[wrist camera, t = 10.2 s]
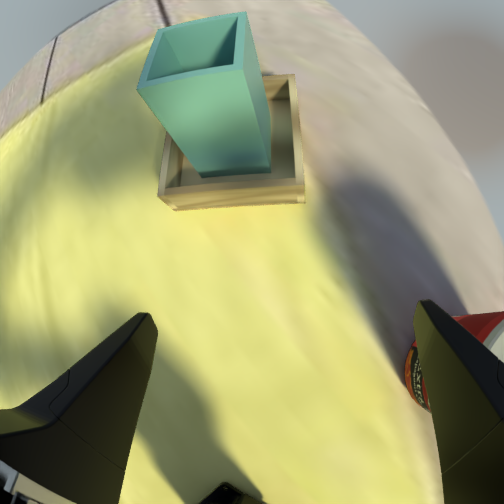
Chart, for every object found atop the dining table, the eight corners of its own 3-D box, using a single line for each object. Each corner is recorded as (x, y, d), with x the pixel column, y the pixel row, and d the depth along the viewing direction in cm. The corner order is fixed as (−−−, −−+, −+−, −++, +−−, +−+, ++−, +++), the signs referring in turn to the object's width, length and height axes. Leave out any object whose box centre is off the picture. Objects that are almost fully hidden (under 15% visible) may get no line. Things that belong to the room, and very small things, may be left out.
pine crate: (305, 203, 24) (304, 185, 21) (174, 211, 26) (157, 196, 23) (296, 98, 27) (294, 73, 23) (186, 110, 29) (174, 89, 25)
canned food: (385, 351, 21) (447, 374, 10) (461, 296, 20) (547, 277, 10) (421, 426, 19) (484, 482, 8) (492, 370, 18) (575, 386, 8)
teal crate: (271, 173, 25) (242, 69, 13) (201, 177, 26) (136, 89, 14) (270, 116, 26) (246, 11, 15) (207, 122, 27) (157, 29, 16)
